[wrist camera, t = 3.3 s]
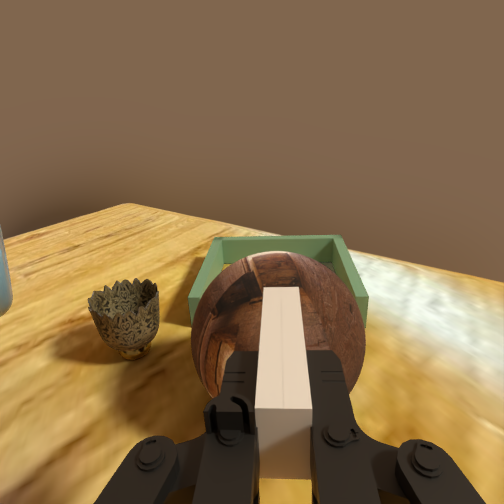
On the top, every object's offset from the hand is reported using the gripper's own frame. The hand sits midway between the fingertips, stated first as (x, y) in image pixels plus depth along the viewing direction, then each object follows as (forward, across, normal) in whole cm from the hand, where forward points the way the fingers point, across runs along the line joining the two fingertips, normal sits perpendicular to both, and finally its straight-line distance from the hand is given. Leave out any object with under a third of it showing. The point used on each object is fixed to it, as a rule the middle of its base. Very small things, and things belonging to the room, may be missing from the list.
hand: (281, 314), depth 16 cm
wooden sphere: (+13, -1, -18) cm, 22 cm away
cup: (+20, -17, -18) cm, 32 cm away
